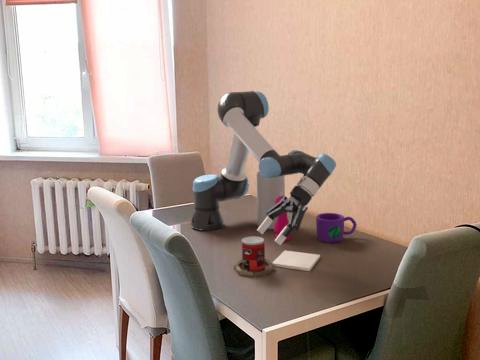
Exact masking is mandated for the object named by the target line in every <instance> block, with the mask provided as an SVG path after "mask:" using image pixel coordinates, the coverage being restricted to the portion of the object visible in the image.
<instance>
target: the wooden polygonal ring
mask: <svg viewBox="0 0 480 360" xmlns="http://www.w3.org/2000/svg"><path fill="white" fill-rule="evenodd" d="M265 267H266V268H264V269H263V270H257V271H249V270H243V268H242V259H239V260H238V261H237V262H236V263H234V264H233V271H235V273H236V274H238V275H239V276H244V277H248V278H249V277H250V278H256V277H264V276H268V275H270V274H271V273H272V272H273V270H274V269H275V266H274V264H273V262H272V261H270V259H266V258H265Z"/></svg>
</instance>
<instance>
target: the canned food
mask: <svg viewBox="0 0 480 360" xmlns="http://www.w3.org/2000/svg"><path fill="white" fill-rule="evenodd" d="M265 247H266V246H265V238H263V237H261V236H252V235H251V236H246V237H244V238H241V260H242V266H241V268H242V269H243V270H249V271H257V270H263V269H266V268H265V267H266V265H265V259H266V256H265V252H266V251H265V249H266V248H265Z"/></svg>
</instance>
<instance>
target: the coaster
mask: <svg viewBox="0 0 480 360" xmlns="http://www.w3.org/2000/svg"><path fill="white" fill-rule="evenodd" d="M320 258H321V254H318V253H317V254H316V253H309V252H308V253H307V252H299V251H293V250H283V252H281V253H280V254H279V256H278V257H277V258H275V259H274V260H273V261H272V263H273V264H274V267H279V268H284V269H290V270H299V271H304V272H305V271H306V272H310V271H311V270H312V269H313V268H314V266H315V265H316V263H317V262H318V261H319V259H320Z"/></svg>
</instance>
